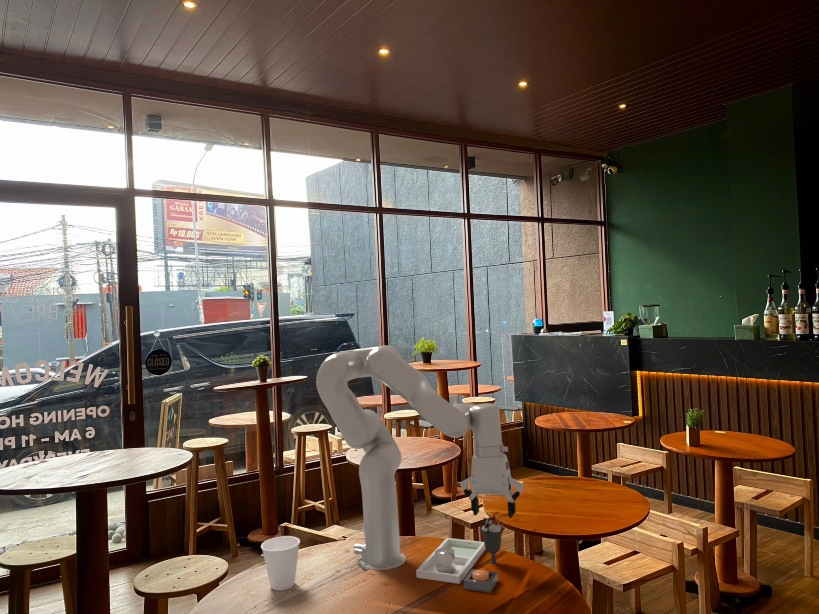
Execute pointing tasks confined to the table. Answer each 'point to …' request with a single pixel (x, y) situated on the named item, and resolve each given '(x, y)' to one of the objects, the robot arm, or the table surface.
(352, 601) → the table surface
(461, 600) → the table surface
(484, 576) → the button cap
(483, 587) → the button housing
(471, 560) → the shallow white tray
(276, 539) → the cup
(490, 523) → the sundae
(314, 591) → the table surface
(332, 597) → the table surface
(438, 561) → the cylinder
